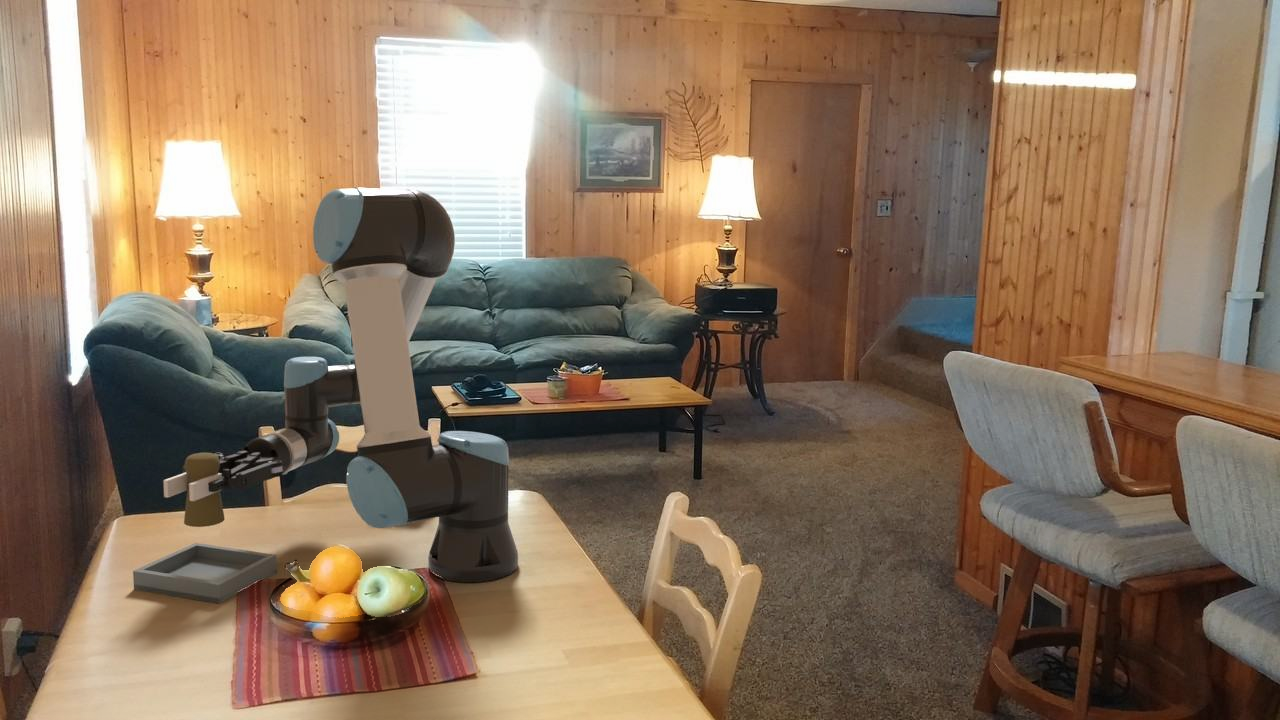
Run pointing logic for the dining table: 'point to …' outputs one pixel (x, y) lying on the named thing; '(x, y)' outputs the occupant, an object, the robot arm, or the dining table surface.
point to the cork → (207, 507)
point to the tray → (205, 572)
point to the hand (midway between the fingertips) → (178, 490)
